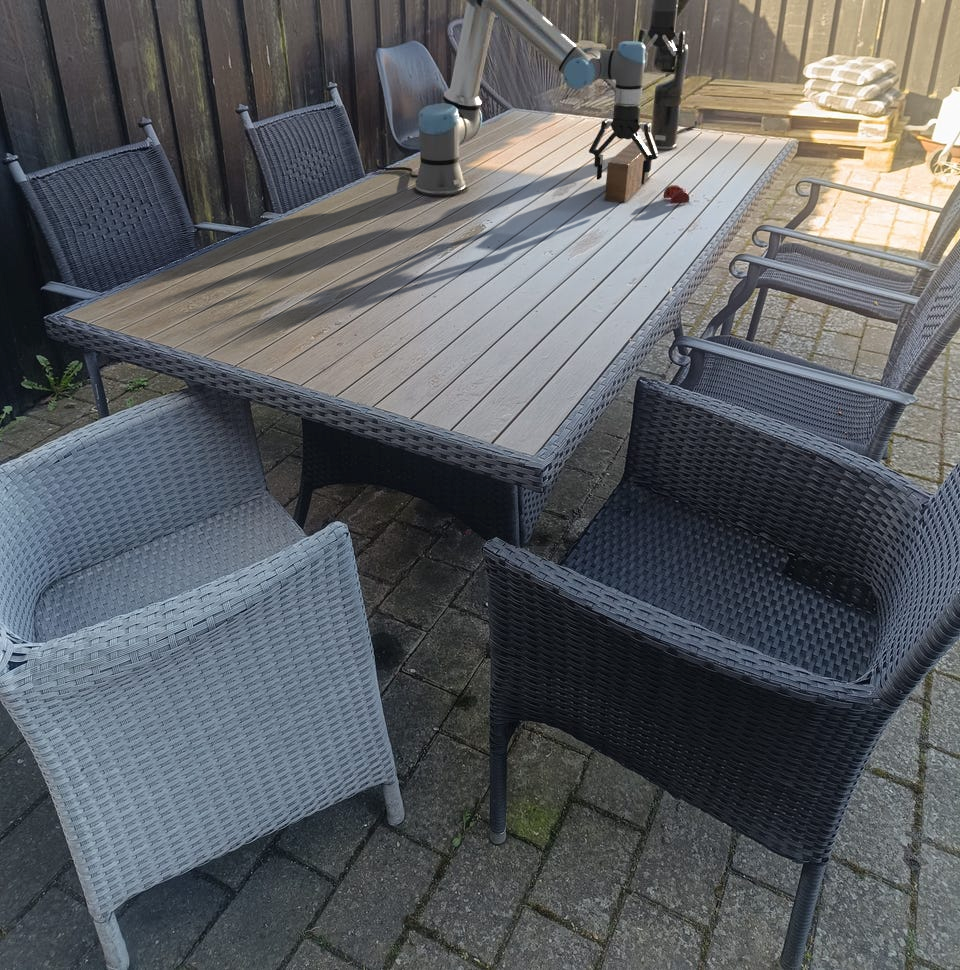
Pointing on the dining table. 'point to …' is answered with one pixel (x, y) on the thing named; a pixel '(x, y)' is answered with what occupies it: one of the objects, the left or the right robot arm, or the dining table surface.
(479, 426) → the dining table surface
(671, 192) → the dental model
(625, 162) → the box
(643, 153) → the left robot arm
